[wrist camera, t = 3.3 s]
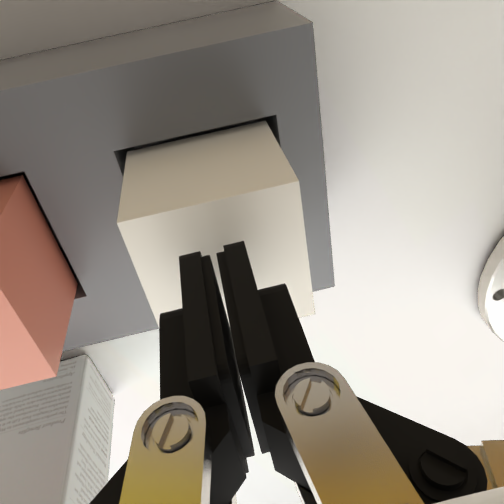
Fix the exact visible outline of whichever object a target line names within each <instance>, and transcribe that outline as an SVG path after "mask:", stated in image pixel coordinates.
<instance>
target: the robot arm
mask: <svg viewBox="0 0 504 504" xmlns="http://www.w3.org/2000/svg"><path fill="white" fill-rule="evenodd" d="M223 247H224V251H223V252H219V253H216V255H217V260H218V266H219V271H220V276H221V282H222V287H223V292H224V297H225V303H226V308H227V313H228V319H229V322H228V319H227V315H226V311H225V308H224V304H223V300H222V297H221V293H220V290H219V286H218V282H217V279H216V275H215V272H214V268H213V264H212V261H211V257H210V255H206V256H202V255H201V252H200V251H198V252H194V253H190V254H186V255H181V256H179V267H180V281H181V295H182V308H181V309H177V310H173V311H169V312H165V313H161V314H160V318H159V333H160V400H159V401H158V402H156V403H154V404H152V405H151V406H150V407H149V408H148V409H147V410H145V411H144V412H143V414H142V415H141V417H140V418H139V420H138V421H137V424H136V426H135V429H134V432H133V437H132V442H131V447H130V452H129V457H128V460H127V461H126V462H125V463H124V464H123V466H122V467H121V468H120V469H119V470H118V471H117V472H116V474H115V475H114V476H113V477H112V478H111V479H110V480H109V482H108V483H107V484H106V485H105V486H104V487H103V488H102V490H101V491H100V492H99V493H98V494H97V495H96V496H95V498H94V499H93V500H92V501H91V502H90V503H89V504H237V500H236V492H237V491H238V489H239V488H240V486H241V485H242V483H243V482H244V480H245V479H246V473H248V472H249V471H248V465H247V459H246V458H247V457H251V456H254V455H255V454H254V448H253V443H252V438H251V432H250V427H249V422H248V416H247V411H246V406H245V401H244V395H243V390H242V385H243V388H244V392H245V395H246V399H247V402H248V406H249V410H250V413H251V417H252V420H253V424H254V427H255V431H256V434H257V438H258V441H259V445H260V448H261V452H262V453H266V452H270V453H271V457H272V460H273V464H274V468H275V471H277V472H279V473H281V474H282V475H284V476H286V477H287V478H289V479H291V480H293V481H294V483H295V487H296V490H297V492H298V495H299V497H300V499H301V502H302V504H504V440H488V441H481V446H466V445H464V444H462V443H461V442H459V441H457V440H456V439H454V438H451V437H449V436H447V435H444V434H442V433H440V432H437V431H435V430H433V429H430V428H428V427H426V426H424V425H421V424H419V423H417V422H414V421H412V420H410V419H407V418H405V417H403V416H400V415H398V414H396V413H394V412H391V411H389V410H387V409H384V408H382V407H380V406H377V405H375V404H373V403H370V402H368V401H366V400H363V399H361V398H359V397H357V396H355V394H354V392H353V391H352V389H351V388H350V386H349V384H348V383H347V381H346V380H345V378H344V377H343V376H342V375H341V374H340V373H339V371H338V370H336V369H334V368H332V367H331V366H329V365H326V364H322V363H318V362H314V359H313V356H312V353H311V351H310V348H309V345H308V343H307V340H306V337H305V334H304V332H303V329H302V326H301V323H300V321H299V318H298V315H297V313H296V310H295V307H294V304H293V302H292V299H291V296H290V294H289V291H288V288H287V286H286V284H285V283H284V284H280V285H276V286H272V287H267V288H263V289H259V290H258V289H257V285H256V282H255V278H254V275H253V271H252V268H251V264H250V261H249V257H248V254H247V250H246V246H245V243H244V241H240V242H236V243H232V244H228V245H223ZM477 296H478V308H479V311H480V314H481V317H482V319H483V320H484V321H485V323H486V324H487V325H488V327H489V328H490V329H491V331H492V332H493V333H494V334H495V335H496V336H497V337H498V338H499V339H500V340H502V341H504V236H503V237H502V238H501V240H500V241H499V242H498V244H497V246H496V247H495V249H494V250H493V252H492V253H491V255H490V257H489V258H488V260H487V263H486V265H485V267H484V270H483V272H482V274H481V277H480V282H479V287H478V291H477ZM229 324H230V326H229ZM230 329H231V330H230ZM240 378H241V380H240ZM241 381H242V385H241Z"/></svg>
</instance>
